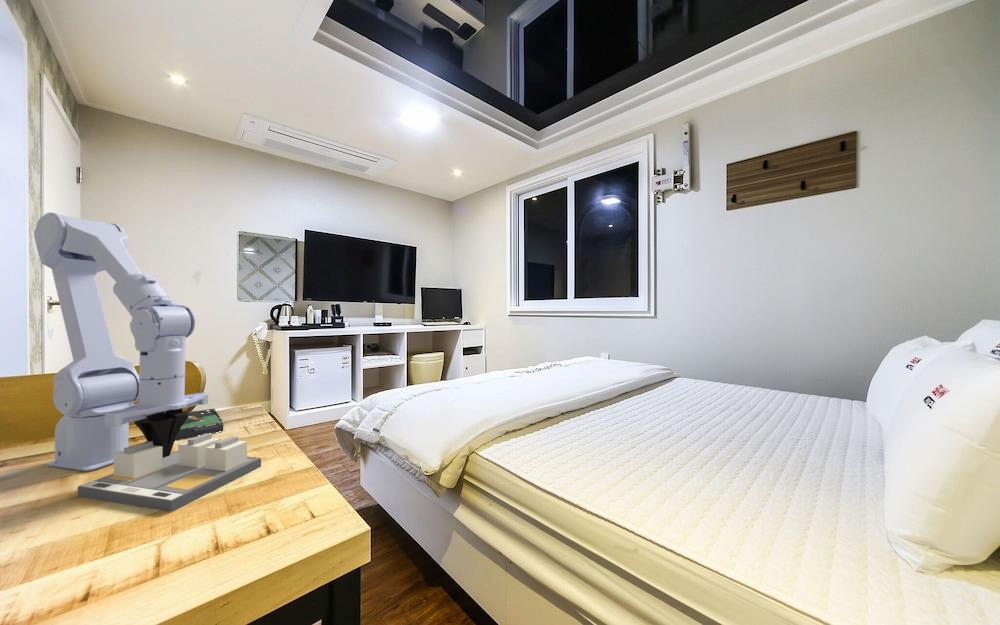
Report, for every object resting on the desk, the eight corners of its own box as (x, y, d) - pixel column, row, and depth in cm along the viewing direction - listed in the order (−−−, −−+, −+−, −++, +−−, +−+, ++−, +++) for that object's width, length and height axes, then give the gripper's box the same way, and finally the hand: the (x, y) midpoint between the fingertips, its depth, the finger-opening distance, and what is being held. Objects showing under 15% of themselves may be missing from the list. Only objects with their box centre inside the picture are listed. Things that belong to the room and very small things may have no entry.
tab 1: (113, 475, 57) (114, 448, 57) (142, 464, 61) (143, 439, 61) (133, 478, 57) (134, 450, 57) (162, 467, 60) (162, 441, 60)
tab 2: (177, 465, 62) (178, 439, 61) (201, 455, 65) (201, 431, 65) (197, 467, 61) (198, 441, 61) (220, 458, 65) (220, 433, 65)
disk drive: (158, 427, 86) (162, 444, 75) (158, 415, 85) (162, 431, 75) (214, 419, 93) (224, 433, 82) (214, 407, 93) (224, 421, 82)
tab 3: (205, 468, 60) (205, 442, 60) (227, 459, 64) (227, 434, 64) (225, 471, 60) (226, 445, 60) (246, 461, 64) (247, 436, 64)
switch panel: (77, 496, 54) (77, 485, 54) (183, 456, 69) (183, 448, 69) (171, 511, 51) (171, 500, 51) (261, 466, 65) (261, 457, 65)
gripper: (131, 387, 54) (130, 478, 54) (222, 371, 68) (221, 443, 69) (94, 383, 55) (92, 473, 56) (191, 368, 70) (189, 439, 70)
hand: (161, 456), depth 62 cm, fingers closed
